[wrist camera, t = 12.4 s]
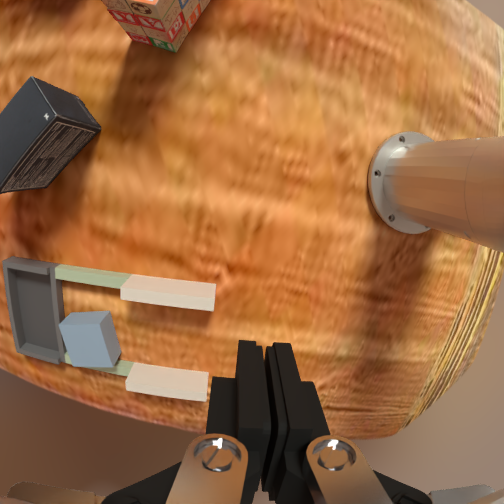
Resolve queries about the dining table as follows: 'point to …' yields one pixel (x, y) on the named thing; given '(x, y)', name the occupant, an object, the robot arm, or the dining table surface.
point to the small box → (41, 135)
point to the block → (90, 339)
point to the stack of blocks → (157, 20)
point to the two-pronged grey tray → (132, 289)
